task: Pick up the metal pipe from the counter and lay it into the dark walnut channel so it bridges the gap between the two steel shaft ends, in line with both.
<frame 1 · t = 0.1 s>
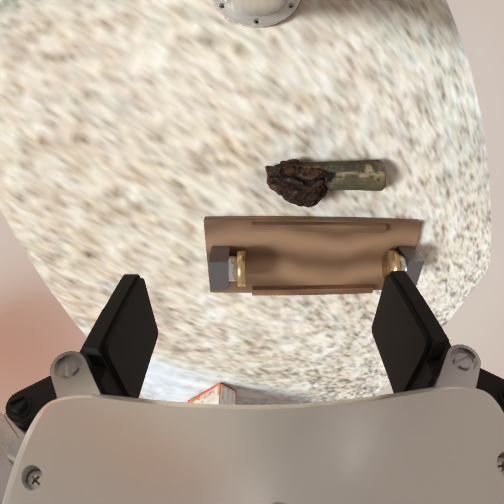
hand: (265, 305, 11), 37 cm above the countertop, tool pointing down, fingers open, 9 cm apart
cradle: (316, 254, 53), on the countertop
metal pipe: (322, 176, 46), on the countertop
shaft ends: (320, 267, 49), point 4 cm above the countertop
cracker box: (211, 395, 74), on the countertop
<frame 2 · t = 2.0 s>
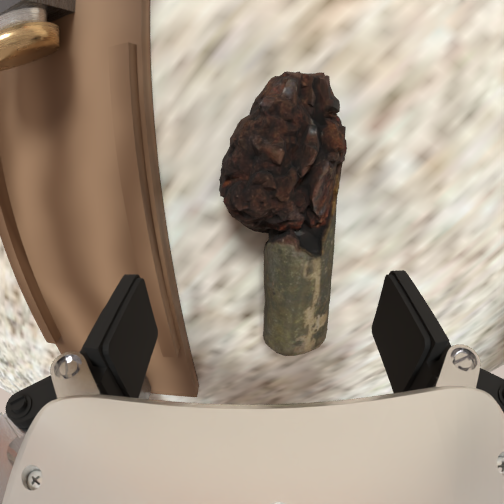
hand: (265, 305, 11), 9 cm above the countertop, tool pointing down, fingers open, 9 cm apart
cradle: (78, 218, 20), on the countertop
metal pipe: (283, 210, 20), on the countertop
shaft ends: (47, 246, 16), point 4 cm above the countertop
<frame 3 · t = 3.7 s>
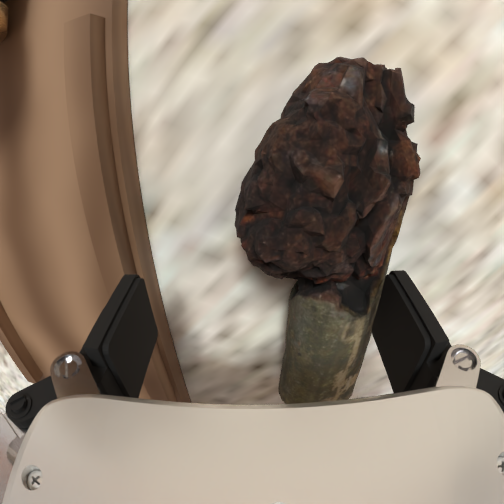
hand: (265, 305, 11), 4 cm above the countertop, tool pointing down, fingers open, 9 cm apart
cradle: (46, 249, 15), on the countertop
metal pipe: (313, 244, 15), on the countertop
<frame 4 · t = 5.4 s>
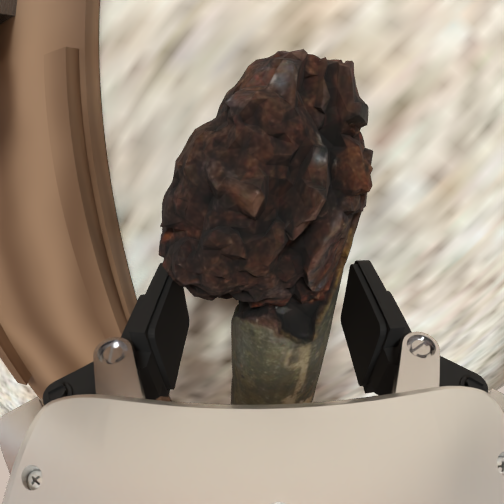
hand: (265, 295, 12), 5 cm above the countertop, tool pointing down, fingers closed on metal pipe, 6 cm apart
cradle: (33, 255, 16), on the countertop
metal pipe: (264, 259, 14), point 2 cm above the countertop, touching gripper
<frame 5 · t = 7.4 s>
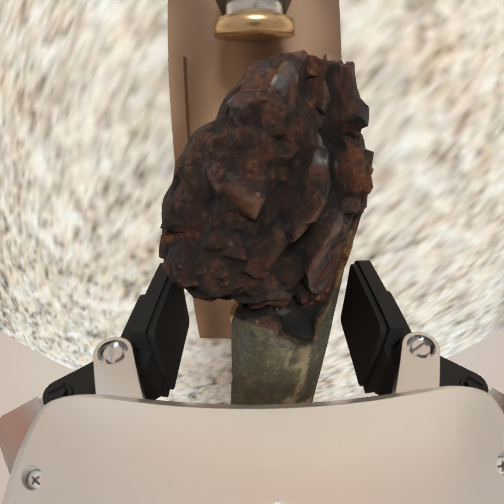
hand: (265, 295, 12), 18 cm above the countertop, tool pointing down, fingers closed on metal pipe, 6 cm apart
cradle: (257, 175, 27), on the countertop
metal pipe: (264, 260, 14), point 15 cm above the countertop, touching gripper
shaft ends: (257, 190, 23), point 4 cm above the countertop
when the fingers open (5 cm above the countertop, at t = 10.3 s): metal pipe drops 1 cm, resting on cradle.
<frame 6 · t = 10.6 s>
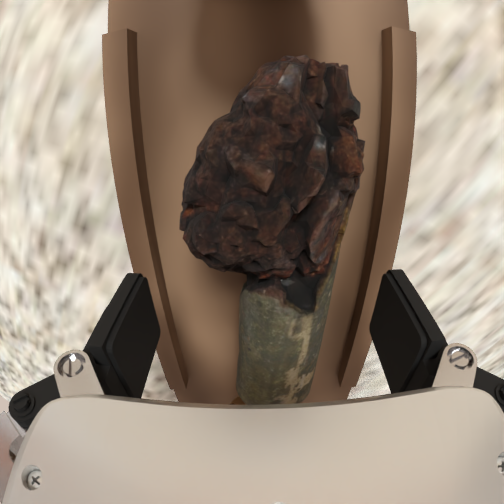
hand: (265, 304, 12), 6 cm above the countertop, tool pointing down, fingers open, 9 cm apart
cradle: (262, 232, 17), on the countertop
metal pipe: (268, 241, 16), point 1 cm above the countertop, touching cradle
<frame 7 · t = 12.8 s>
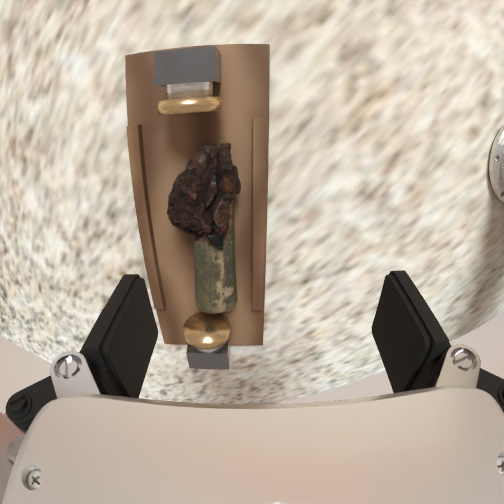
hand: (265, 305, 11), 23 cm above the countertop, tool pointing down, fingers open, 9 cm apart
cradle: (202, 217, 34), on the countertop
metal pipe: (209, 222, 33), point 1 cm above the countertop, touching cradle
shaft ends: (197, 234, 30), point 4 cm above the countertop
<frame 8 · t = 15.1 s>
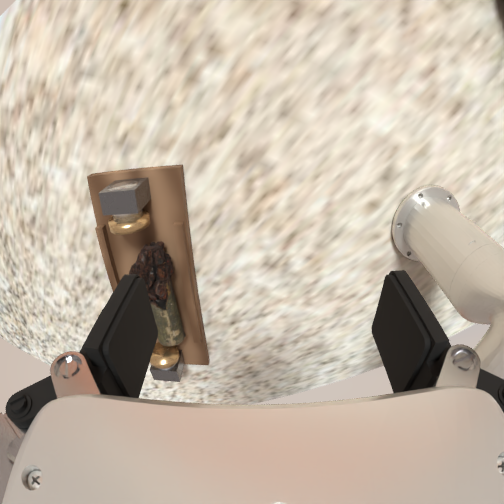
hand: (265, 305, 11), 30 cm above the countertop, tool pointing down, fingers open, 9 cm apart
cradle: (154, 281, 48), on the countertop
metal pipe: (160, 286, 47), point 1 cm above the countertop, touching cradle
shaft ends: (147, 298, 44), point 4 cm above the countertop
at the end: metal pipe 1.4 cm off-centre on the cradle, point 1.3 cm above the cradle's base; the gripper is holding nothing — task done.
